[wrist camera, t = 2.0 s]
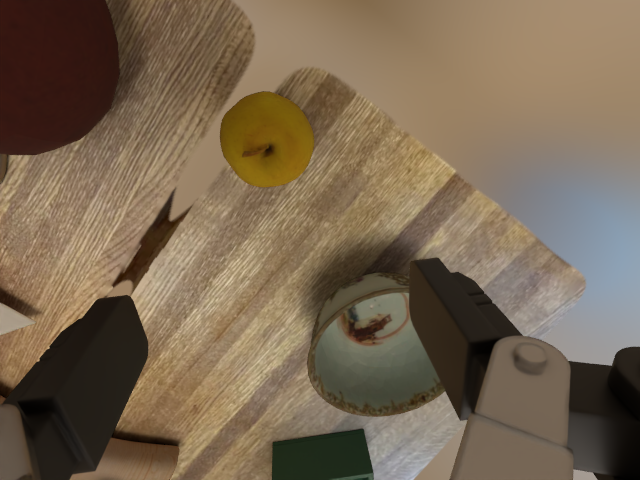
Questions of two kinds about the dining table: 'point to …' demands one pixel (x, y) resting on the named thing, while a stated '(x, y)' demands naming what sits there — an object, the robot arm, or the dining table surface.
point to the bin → (323, 458)
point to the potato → (54, 72)
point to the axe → (120, 455)
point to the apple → (266, 139)
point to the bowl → (371, 350)
